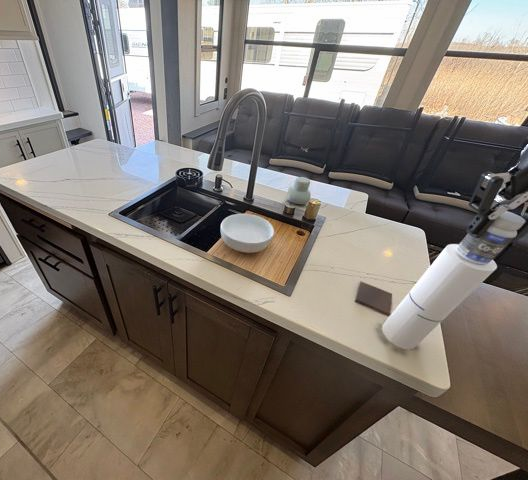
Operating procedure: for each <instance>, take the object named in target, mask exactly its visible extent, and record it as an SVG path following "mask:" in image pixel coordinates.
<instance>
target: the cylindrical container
mask: <svg viewBox="0 0 528 480" xmlns="http://www.w3.org/2000/svg"><path fill="white" fill-rule="evenodd" d="M459 244H460V243H450V244H447V245H446V246H445V247H444V248H443V249H442V251H441V252H440V254H438V256H437V257H436V258H435V260H433V262H432V263H431V264H430V265H429V267H428V268H427V269H426V271H425V272H424V273H423V274H422V276H421V277H420V278H419V279H418V281H417V282H416V283H415V285H413V287H411V290H409V292H408V293H407V294H406V295H405V297H404V298H403V299H402V301H401V302H400V303H399V304H398V305H397V306H396V308H395V309H394V310H393V312H392V313H390V315H389V316H388V318H387V319H386V320H385V322H384V323H383V324H382V326H381V331H382V334H383V336H384V337H385V339H387V341H388V342H390V344H392V345H394V346H395V347H398V348H399V349H402V350H413V349H415V348H416V347H417V346H418V345H419V344H420V343H421V342H422V341H423V340H424V339H425V338H426V337H427V336H428V335H429V334H430V333H431V332H433V330H434V329H436V328H437V327H438V326H439V325H440V324H441V323H442V322H443V321H444V320H445V319H446V318H447V317H448V316H449V315H450V314H451V313H452V312H453V311H455V309H456V308H457V307H458V306H459V305H461V303H463V302H464V301H465V300H466V299H467V298H468V297H469V296H470V295H471V294H472V293H473V292H474V291H475V290H476V289H477V288H478V287H479V286H480V285H481V284H483V282H484V281H485V280H487V278H489V277H490V275H492V274H493V273H494V272H495V271H496V270H497V268H498V265H497V263H496V261H494V259H493V260H492V261H490V262H489V263H488V264H478V263H474V262H471V261H468V260H466V259H464V258H463V257H461V256H460V255H459V254H458V253H457V252H456V248H457V246H458V245H459Z"/></svg>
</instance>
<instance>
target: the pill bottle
mask: <svg viewBox="0 0 528 480" xmlns="http://www.w3.org/2000/svg"><path fill="white" fill-rule="evenodd" d="M494 220H495V221H494V222H493V224H492V225H491V226H490V227H489V228H488V229H487V230H486V231H485V233H484V234H483V235H482V236H481V237H480V238H473V237H472V236H470V235H469V234H468V233H467V234H466V236H464V238H463V239H461V241H460V242H459V243H458V244H459V245H458V246H457V248H456V252H457V253H458V254H459V255H460V256H461V257H463V258H464V259H466V260H468V261H471V262H474V263H478V264H488V263H489V262H490V261H492V260H493V261H494V259H495V258H496V257H497V256H498V255H499V254H500V253H501V252H502V251H503V250H504V249H505V248H506V247H507V246H508V245H509V244H510V243H512V242H511V240H513V239H514V238H515V237H516V235H517V231H516V230H518V229H519V228H521V226H522V225H523V224H524V223H525V222H526V221H525V219H523V218H522V216H521V215H518V214H516V213H513V212H511V211H509V210H507V211H506V212H504V213H503V214H501V215H500V216H499V217H497V218H496V219H494Z"/></svg>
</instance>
